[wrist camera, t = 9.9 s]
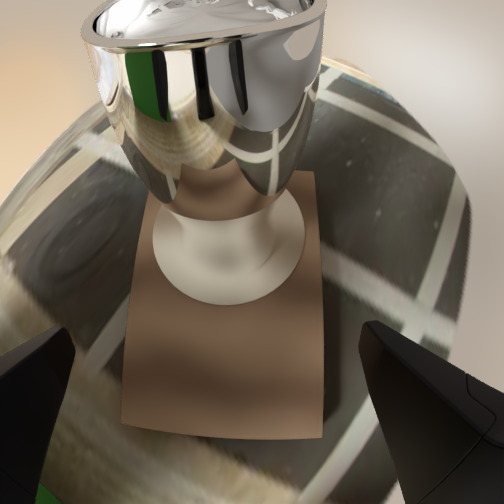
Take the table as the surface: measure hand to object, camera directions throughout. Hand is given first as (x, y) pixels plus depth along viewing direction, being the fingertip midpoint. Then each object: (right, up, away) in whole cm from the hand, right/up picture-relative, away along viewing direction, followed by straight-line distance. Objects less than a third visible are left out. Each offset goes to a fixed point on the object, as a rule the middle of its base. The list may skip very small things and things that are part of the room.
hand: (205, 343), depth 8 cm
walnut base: (0, 0, +12) cm, 12 cm away
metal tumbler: (0, +4, +12) cm, 12 cm away
